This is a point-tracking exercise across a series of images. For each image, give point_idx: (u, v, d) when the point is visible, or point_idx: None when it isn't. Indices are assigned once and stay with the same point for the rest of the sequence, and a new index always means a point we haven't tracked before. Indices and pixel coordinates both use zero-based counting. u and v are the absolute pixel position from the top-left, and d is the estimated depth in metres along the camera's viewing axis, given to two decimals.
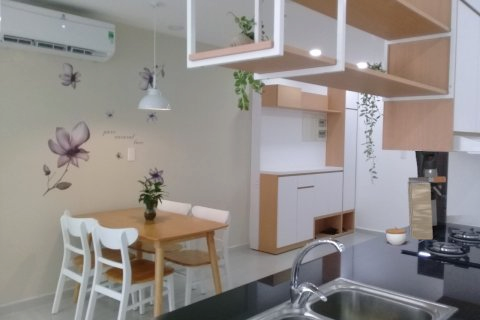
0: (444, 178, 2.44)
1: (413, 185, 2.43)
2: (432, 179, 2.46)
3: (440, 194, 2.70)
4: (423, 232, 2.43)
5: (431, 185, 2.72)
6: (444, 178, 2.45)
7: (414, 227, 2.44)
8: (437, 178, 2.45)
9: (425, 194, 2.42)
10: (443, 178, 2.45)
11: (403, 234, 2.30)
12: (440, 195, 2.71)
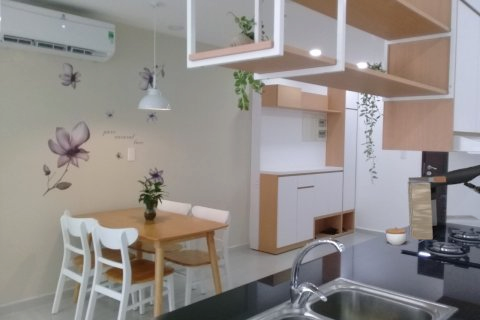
0: (444, 178, 2.44)
1: (413, 185, 2.43)
2: (432, 179, 2.46)
3: (470, 188, 2.47)
4: (423, 232, 2.43)
5: None
6: (444, 178, 2.45)
7: (414, 227, 2.44)
8: (437, 178, 2.45)
9: (425, 194, 2.42)
10: (443, 178, 2.45)
11: (403, 234, 2.30)
12: (469, 187, 2.47)
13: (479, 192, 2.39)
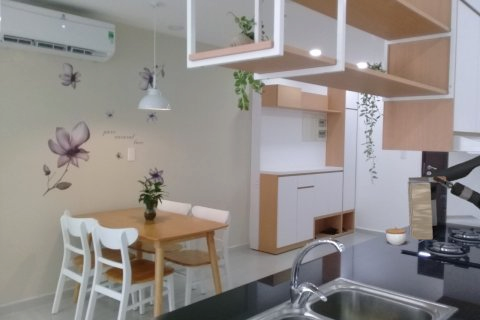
0: (444, 178, 2.44)
1: (413, 185, 2.43)
2: (432, 179, 2.46)
3: (438, 182, 2.49)
4: (423, 232, 2.43)
5: None
6: (444, 178, 2.45)
7: (414, 227, 2.44)
8: None
9: (425, 194, 2.42)
10: (443, 178, 2.45)
11: (403, 234, 2.30)
12: (437, 181, 2.49)
13: (445, 186, 2.44)
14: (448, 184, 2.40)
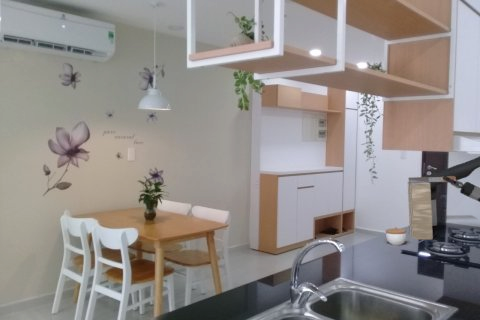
0: (454, 178, 2.43)
1: (413, 185, 2.43)
2: (442, 179, 2.45)
3: None
4: (423, 232, 2.43)
5: (460, 187, 2.44)
6: (453, 178, 2.43)
7: (414, 227, 2.44)
8: None
9: (425, 194, 2.42)
10: (453, 178, 2.43)
11: (403, 234, 2.30)
12: None
13: (455, 185, 2.43)
14: (458, 184, 2.39)
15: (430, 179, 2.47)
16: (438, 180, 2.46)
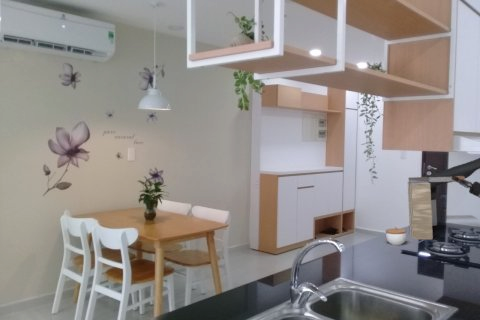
0: (463, 177, 2.42)
1: (413, 185, 2.43)
2: (450, 178, 2.44)
3: None
4: (423, 232, 2.43)
5: (469, 187, 2.43)
6: (462, 177, 2.42)
7: (414, 227, 2.44)
8: None
9: (425, 194, 2.42)
10: (462, 177, 2.42)
11: (403, 234, 2.30)
12: None
13: (464, 185, 2.41)
14: (467, 183, 2.38)
15: (439, 179, 2.45)
16: (447, 180, 2.44)
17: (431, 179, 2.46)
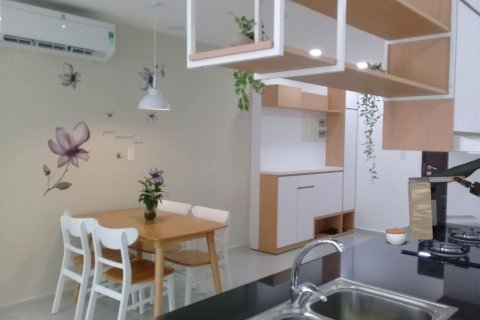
0: (463, 177, 2.42)
1: (413, 185, 2.43)
2: (451, 178, 2.44)
3: (457, 182, 2.49)
4: (423, 232, 2.43)
5: (469, 187, 2.43)
6: (462, 177, 2.42)
7: (414, 227, 2.44)
8: None
9: (425, 194, 2.42)
10: (462, 177, 2.42)
11: (403, 234, 2.30)
12: None
13: (466, 186, 2.41)
14: (470, 185, 2.37)
15: (439, 179, 2.45)
16: (447, 180, 2.44)
17: (431, 179, 2.46)
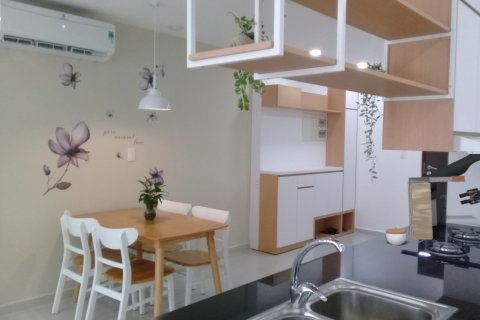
0: (463, 177, 2.42)
1: (413, 185, 2.43)
2: (451, 178, 2.44)
3: (468, 195, 2.46)
4: (423, 232, 2.43)
5: None
6: (462, 177, 2.42)
7: (414, 227, 2.44)
8: (456, 177, 2.43)
9: (425, 194, 2.42)
10: (462, 177, 2.42)
11: (403, 234, 2.30)
12: (467, 195, 2.46)
13: None
14: (477, 200, 2.34)
15: (439, 179, 2.45)
16: (447, 180, 2.44)
17: (431, 179, 2.46)
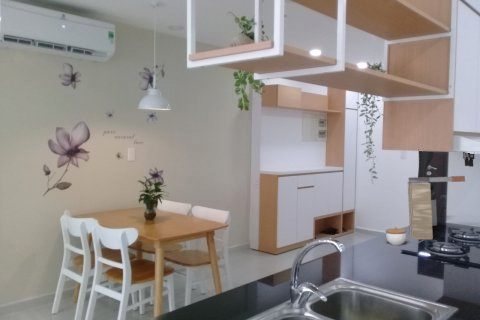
0: (463, 177, 2.42)
1: (413, 185, 2.43)
2: (451, 178, 2.44)
3: None
4: (423, 232, 2.43)
5: None
6: (462, 177, 2.42)
7: (414, 227, 2.44)
8: (456, 177, 2.43)
9: (425, 194, 2.42)
10: (462, 177, 2.42)
11: (403, 234, 2.30)
12: (468, 159, 2.56)
13: None
14: None
15: (439, 179, 2.45)
16: (447, 180, 2.44)
17: (431, 179, 2.46)
